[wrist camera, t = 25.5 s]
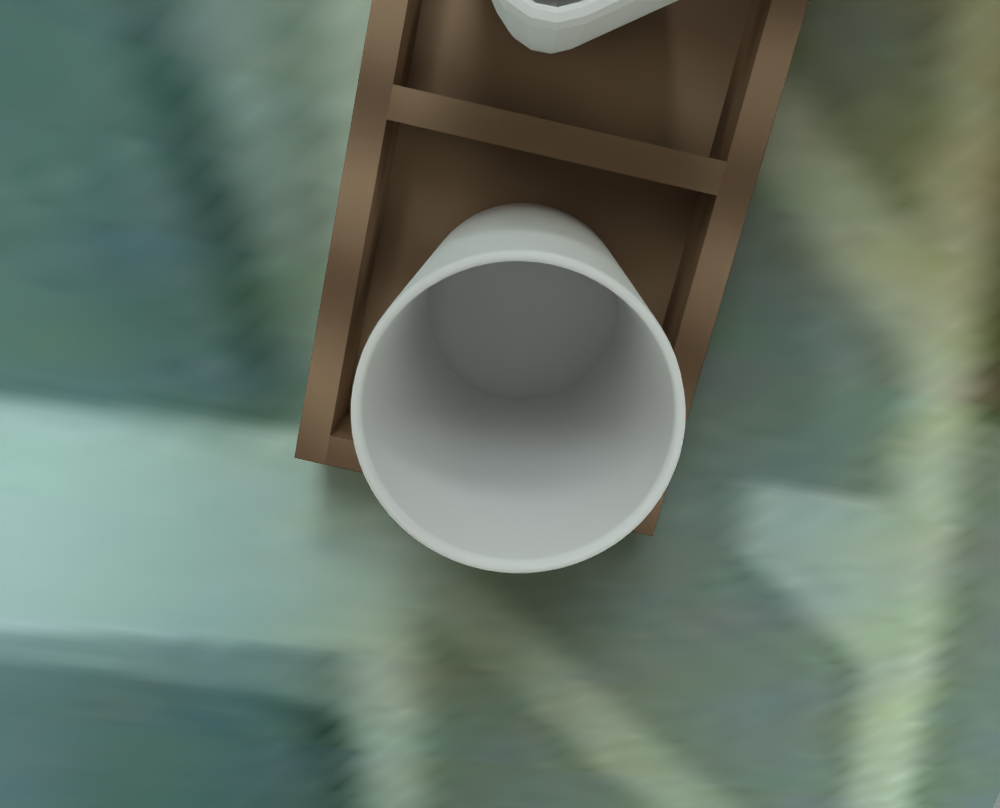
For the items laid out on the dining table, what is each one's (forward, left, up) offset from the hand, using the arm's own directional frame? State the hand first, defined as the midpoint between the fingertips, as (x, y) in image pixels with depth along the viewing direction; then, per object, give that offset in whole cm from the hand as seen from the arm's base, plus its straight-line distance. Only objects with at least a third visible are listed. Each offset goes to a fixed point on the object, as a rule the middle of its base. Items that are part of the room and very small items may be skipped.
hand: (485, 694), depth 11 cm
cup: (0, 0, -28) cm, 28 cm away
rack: (-7, 0, -29) cm, 29 cm away
